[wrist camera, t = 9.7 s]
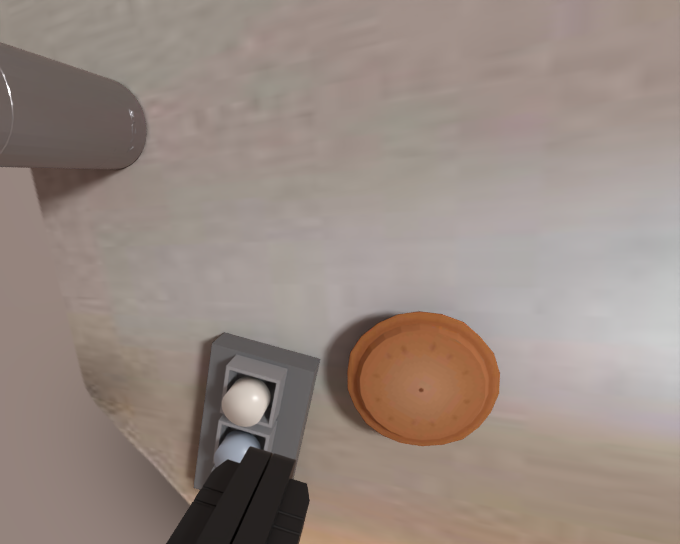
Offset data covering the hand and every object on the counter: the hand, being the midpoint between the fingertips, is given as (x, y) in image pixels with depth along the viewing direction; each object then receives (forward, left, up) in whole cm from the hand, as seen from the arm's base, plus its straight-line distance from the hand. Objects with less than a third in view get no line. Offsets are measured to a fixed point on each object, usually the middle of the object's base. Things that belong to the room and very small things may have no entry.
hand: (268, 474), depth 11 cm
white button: (-8, -16, -24) cm, 30 cm away
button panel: (-8, -23, -29) cm, 38 cm away
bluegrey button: (-8, -23, -24) cm, 34 cm away
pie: (+9, -10, -29) cm, 32 cm away
